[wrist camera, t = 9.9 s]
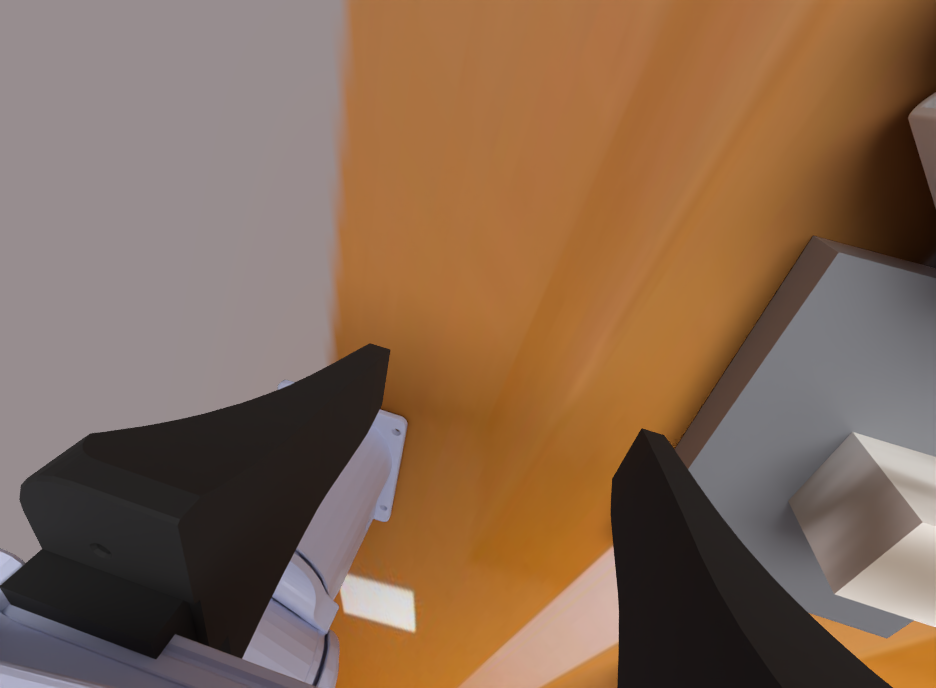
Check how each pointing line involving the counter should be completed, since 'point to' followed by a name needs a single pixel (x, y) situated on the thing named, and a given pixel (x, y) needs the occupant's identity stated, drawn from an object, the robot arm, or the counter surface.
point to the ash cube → (874, 525)
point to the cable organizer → (926, 138)
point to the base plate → (817, 405)
